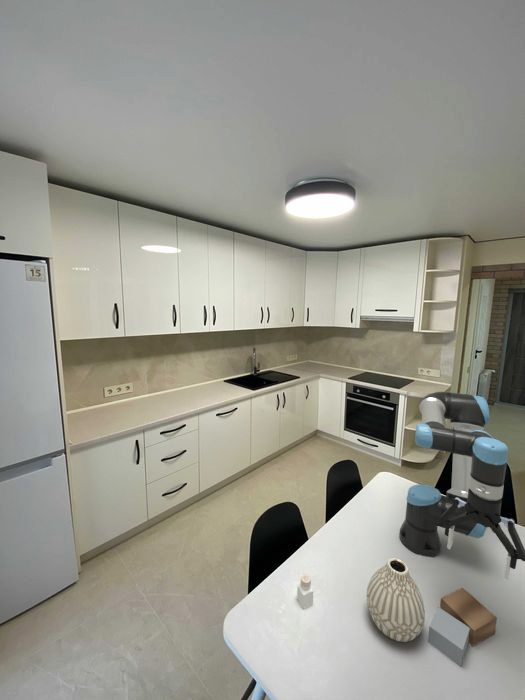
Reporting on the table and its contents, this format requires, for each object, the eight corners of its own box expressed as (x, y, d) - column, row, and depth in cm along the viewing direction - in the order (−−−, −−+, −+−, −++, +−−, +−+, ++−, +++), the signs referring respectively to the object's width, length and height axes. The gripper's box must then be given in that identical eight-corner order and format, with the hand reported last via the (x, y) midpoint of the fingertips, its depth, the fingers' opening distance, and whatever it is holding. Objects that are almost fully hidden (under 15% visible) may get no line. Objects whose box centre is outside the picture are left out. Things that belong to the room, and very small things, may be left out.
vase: (358, 597, 96) (362, 542, 93) (407, 599, 95) (412, 544, 93) (375, 653, 80) (380, 589, 77) (434, 656, 80) (440, 592, 77)
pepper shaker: (296, 600, 94) (297, 575, 93) (306, 596, 96) (307, 570, 95) (302, 612, 91) (303, 585, 89) (313, 607, 92) (314, 581, 91)
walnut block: (439, 614, 91) (440, 597, 90) (460, 603, 94) (462, 587, 94) (471, 649, 82) (474, 630, 81) (494, 635, 85) (496, 617, 84)
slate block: (427, 644, 83) (429, 625, 82) (436, 624, 88) (438, 606, 87) (460, 669, 77) (462, 650, 76) (467, 646, 82) (470, 628, 81)
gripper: (431, 479, 88) (425, 542, 91) (545, 523, 70) (533, 599, 73) (439, 470, 93) (433, 530, 96) (547, 509, 75) (535, 581, 78)
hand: (476, 560), depth 84 cm, fingers open, 13 cm apart
